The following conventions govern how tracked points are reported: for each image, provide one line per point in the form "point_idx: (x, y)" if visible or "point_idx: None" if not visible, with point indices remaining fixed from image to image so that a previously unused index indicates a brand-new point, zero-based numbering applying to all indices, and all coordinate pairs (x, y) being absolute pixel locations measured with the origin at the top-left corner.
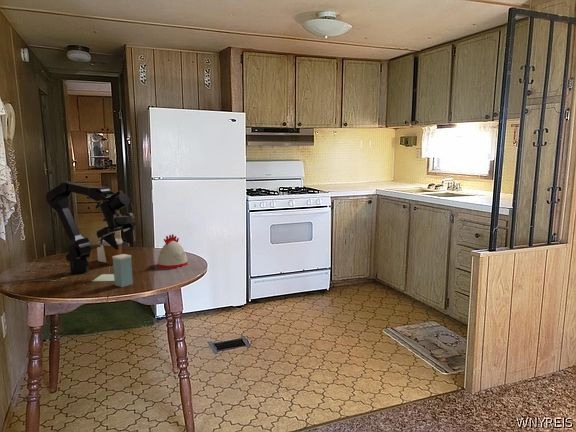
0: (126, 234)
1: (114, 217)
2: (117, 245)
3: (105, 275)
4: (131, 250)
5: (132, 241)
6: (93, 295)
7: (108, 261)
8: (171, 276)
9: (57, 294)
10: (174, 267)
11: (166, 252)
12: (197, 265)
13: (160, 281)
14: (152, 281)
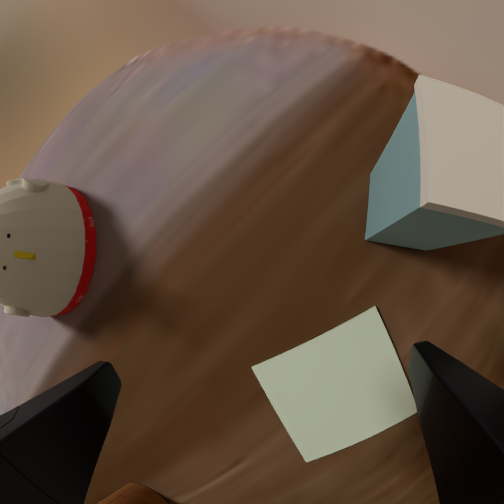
0: (42, 502)
1: None
2: (440, 372)
3: (315, 435)
4: None
5: (75, 379)
6: None
7: None
8: (186, 107)
9: None
10: (81, 197)
11: (26, 227)
12: (46, 155)
13: (270, 89)
14: (288, 118)
